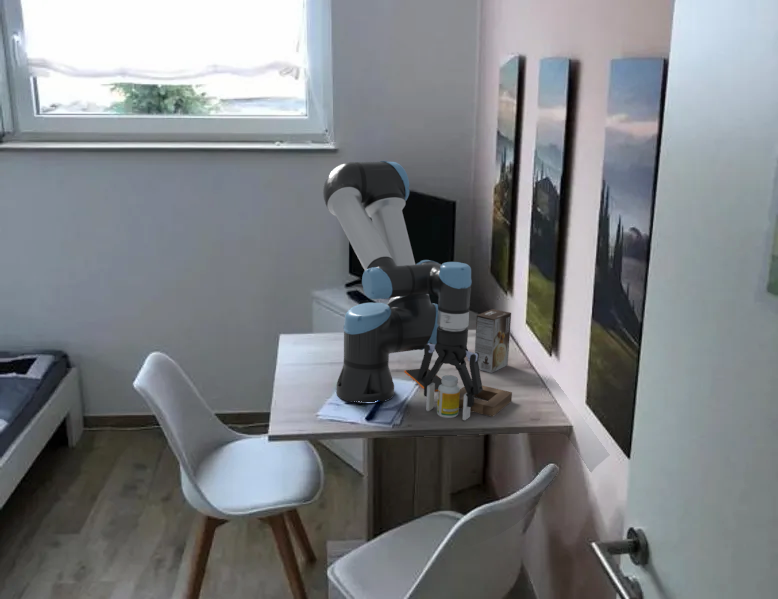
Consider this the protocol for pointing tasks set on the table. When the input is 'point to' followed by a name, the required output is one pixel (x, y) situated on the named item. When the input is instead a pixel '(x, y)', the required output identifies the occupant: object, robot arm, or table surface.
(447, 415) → the supplement bottle
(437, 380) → the smartphone
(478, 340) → the coffee box
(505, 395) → the holder block
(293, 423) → the table surface
